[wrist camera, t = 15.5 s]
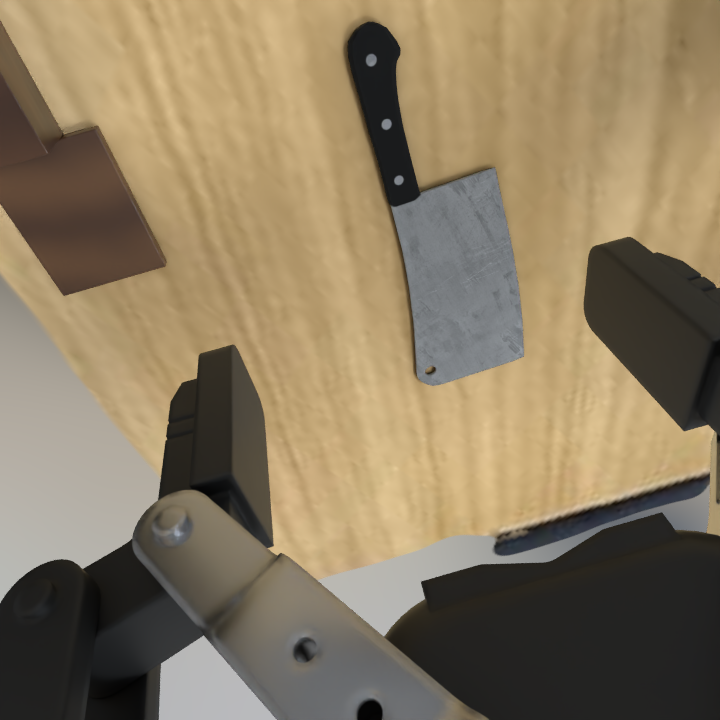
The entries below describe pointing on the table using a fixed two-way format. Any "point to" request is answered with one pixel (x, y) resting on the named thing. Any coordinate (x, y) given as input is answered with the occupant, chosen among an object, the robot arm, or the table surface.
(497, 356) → the cleaver
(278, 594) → the robot arm
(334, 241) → the table surface
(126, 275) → the spatula
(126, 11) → the table surface
